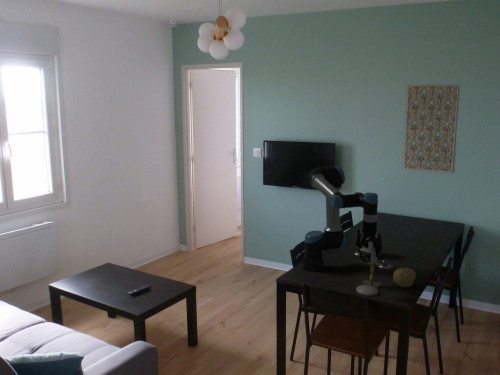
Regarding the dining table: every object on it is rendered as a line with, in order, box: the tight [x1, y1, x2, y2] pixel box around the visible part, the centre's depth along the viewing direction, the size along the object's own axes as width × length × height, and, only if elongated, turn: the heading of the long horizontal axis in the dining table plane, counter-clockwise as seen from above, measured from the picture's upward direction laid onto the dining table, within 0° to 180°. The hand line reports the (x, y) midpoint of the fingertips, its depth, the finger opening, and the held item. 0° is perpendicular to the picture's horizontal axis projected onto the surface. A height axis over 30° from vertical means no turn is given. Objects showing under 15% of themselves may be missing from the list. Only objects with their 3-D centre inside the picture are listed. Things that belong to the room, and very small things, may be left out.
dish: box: [355, 284, 379, 297], centre depth 265 cm, size 12×12×1 cm
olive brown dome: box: [392, 267, 417, 289], centre depth 272 cm, size 12×12×11 cm
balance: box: [353, 250, 392, 290], centre depth 272 cm, size 22×7×18 cm, turn 51°
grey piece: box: [359, 240, 375, 265], centre depth 260 cm, size 7×7×12 cm
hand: (368, 260), depth 261 cm, fingers closed on grey piece, 7 cm apart
